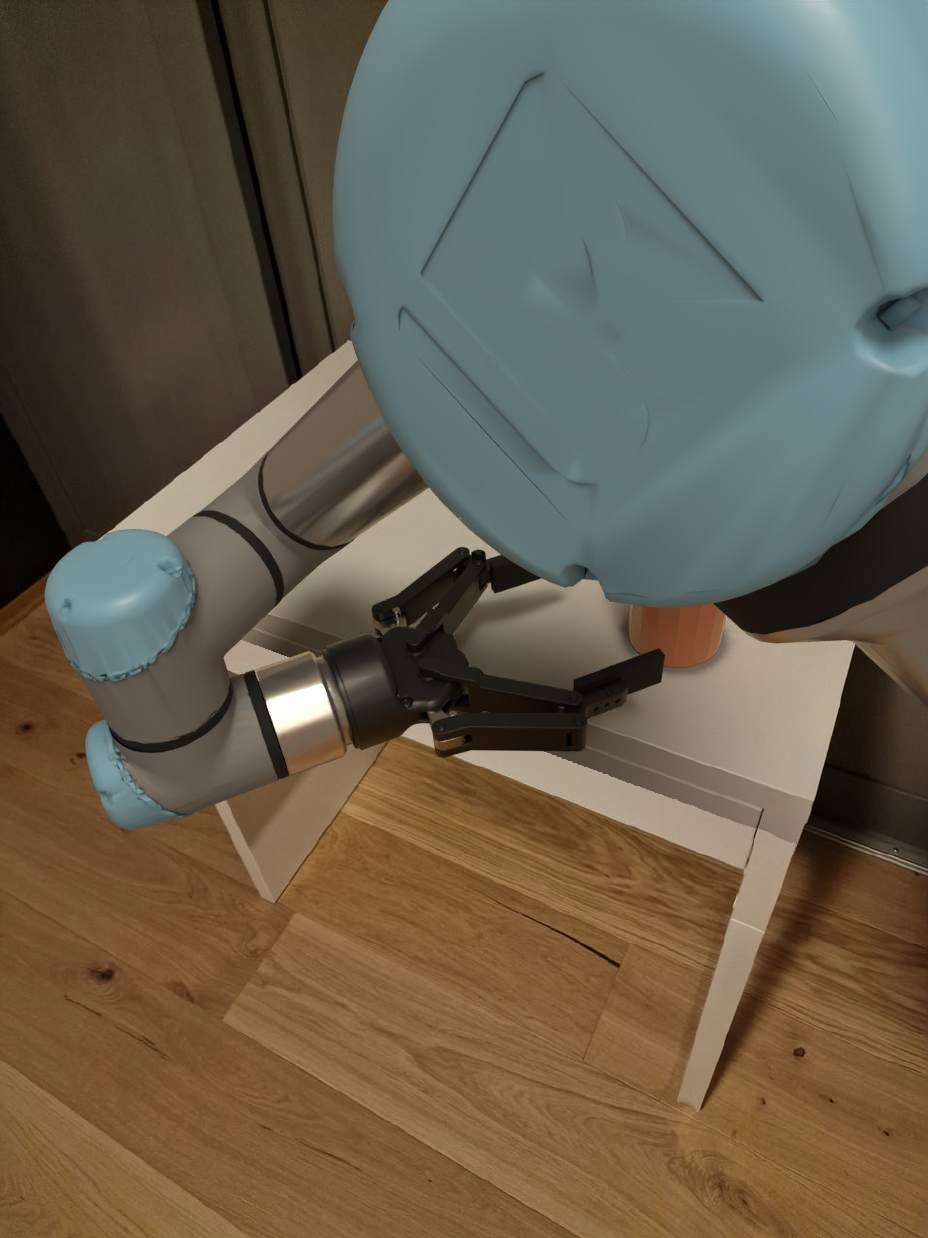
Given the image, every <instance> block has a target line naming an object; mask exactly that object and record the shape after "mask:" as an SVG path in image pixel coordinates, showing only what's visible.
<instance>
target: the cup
mask: <svg viewBox="0 0 928 1238" xmlns="http://www.w3.org/2000/svg"><path fill="white" fill-rule="evenodd" d="M726 619H727V616H726V615H725V614H724V613H723V612H722V611H721V610H720V609H719V608H717V607H716V606H715V605H714V604H713V603H710V604H704V605H698V606H691V607H674V608H655V607H642V606H636V605H629V615H628V624H627V625H628V638H629V641H630V644H631V645H632V647H633V648H634V650H635V651H637V653H638V654H639V655H641V654H644V653H647V652H649V651H652V650H655V649H658V648H660V650H661V651H662V652H663V653H664V654H665V660H664V667H669V668H681V669H682V668H690V667H694V666H698V665H701V664H703V663H705V662H707V661H709V660H710V659H711V658H712V657H713V656H714V655H715V654H716V653H717V651H718V650H719V648H720V646H721V645H720V644H721V640H722V638H723V634H724V629H725V623H726Z"/></svg>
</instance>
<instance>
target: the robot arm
mask: <svg viewBox="0 0 928 1238" xmlns="http://www.w3.org/2000/svg"><path fill="white" fill-rule="evenodd" d="M376 20H377V21H376V22H375V24H374V27H373V29H372V31H371V32H370V35H369V37H368V39H367V42H366V43H365V45H364V48H363V51H362V54H361V56H360V58H359V61H358V63H357V67H356V70H355V73H354V76H353V79H352V82H351V84H350V88H349V92H348V95H347V99H346V103H345V107H344V110H343V114H342V120H341V125H340V130H339V135H338V141H337V147H336V153H335V161H334V168H333V184H332V216H331V217H332V239H333V252H334V263H335V270H336V273H337V276H338V278H339V281H340V282H341V285H342V286H343V288H344V290H345V293H346V295H347V298H348V301H349V303H350V305H351V308H352V313H353V318H354V319H353V320H352V322H351V326H350V329H349V337H350V341H351V343H352V344H351V345H352V348H353V350H354V351H353V352H354V354H355V356H356V358H357V360H356V361H355V362H354V363H353V364H352V365H351V366H350V367H348V369H347V370H346V371H345V372H344V373H343V374H342V375H341V376H340V377H339V378H338V379H337V380H336V382H334V383H333V384H332V386H331V387H330V388H328V389H327V391H325V393H323V395H321V397H320V398H319V399H317V401H316V402H315V403H314V404H313V405H312V406H311V407H310V408H309V409H308V410H307V411H306V412H305V413H304V414H303V415H302V416H301V417H300V418H299V419H298V420H297V421H296V422H295V423H294V424H293V425H292V426H291V428H289V429H288V430H287V431H286V432H285V433H284V434H283V435H282V436H281V438H279V439H278V440H277V441H276V442H275V443H274V445H273V446H272V447H271V448H269V450H268V451H266V452H265V453H264V454H263V455H262V456H261V457H260V458H259V459H258V460H257V461H256V462H255V463H254V464H253V465H252V466H251V467H250V468H249V470H248V471H246V473H243V475H242V476H241V477H240V478H239V479H237V480H236V481H235V482H234V483H232V484H231V485H230V486H229V487H228V488H226V489H225V490H224V491H222V493H221V494H219V495H218V496H217V497H215V498H214V499H213V500H212V501H211V502H210V503H208V504H207V505H205V506H204V507H203V508H202V509H201V510H199V511H198V512H196V513H194V515H192V516H190V517H189V518H188V519H186V521H184V522H183V523H182V524H180V525H179V526H178V527H176V528H175V529H174V530H172V531H171V532H170V533H168V534H167V535H165V534H162V533H160V532H157V531H154V530H148V529H143V528H142V529H141V528H127V529H119V530H114V531H110V532H107V533H105V534H104V535H103V537H102V538H101V539H98V540H95V541H83V542H82V543H80V544H78V545H77V546H75V547H74V548H73V549H71V550H69V551H68V552H67V553H66V554H64V555H63V557H61V559H60V560H58V561H57V563H56V564H55V566H54V567H53V568H52V570H51V572H50V573H49V575H48V577H47V581H46V583H45V588H44V602H45V603H44V604H45V607H46V610H47V613H48V615H49V618H50V620H51V621H50V622H51V625H52V628H53V629H54V631H55V633H56V636H57V638H58V640H59V642H60V645H61V647H62V649H63V653H64V656H65V657H66V658H67V660H68V662H69V664H70V666H71V668H72V669H73V670H74V671H75V672H76V673H77V676H78V677H79V679H81V681H82V683H83V684H84V686H85V688H86V690H87V692H88V693H89V694H90V696H91V698H92V699H93V702H94V703H95V704H96V706H97V708H98V710H99V711H100V713H101V714H102V716H103V718H104V719H102V720H99V721H96V722H95V723H94V724H93V725H91V726H90V727H89V729H88V730H87V732H86V735H85V746H84V747H85V748H84V749H85V756H86V760H87V767H88V770H89V773H90V778H91V780H92V784H93V786H94V788H95V791H96V792H97V793H98V796H99V798H100V801H101V805H102V807H103V809H104V811H105V812H106V814H107V816H108V817H109V819H110V820H111V821H112V822H113V823H114V824H115V825H116V826H117V827H119V828H121V829H124V830H127V831H139V830H142V829H144V828H148V827H151V826H154V825H158V824H161V823H165V822H168V821H172V820H175V819H181V818H183V819H185V818H188V817H190V816H192V815H194V814H195V813H196V812H198V811H201V810H204V809H206V808H209V807H212V806H214V805H217V804H221V803H222V802H226V801H228V800H231V799H234V798H236V797H238V796H241V795H244V794H247V793H249V792H252V791H253V790H254V791H255V790H258V789H259V788H262V787H265V786H268V785H270V784H273V783H275V782H278V781H280V780H282V779H286V778H289V777H290V776H294V775H298V774H301V773H303V772H306V771H309V770H312V769H314V768H317V767H319V766H322V765H325V764H328V763H330V762H333V761H336V760H338V759H341V758H343V757H345V756H346V754H347V752H348V749H347V748H348V746H350V745H352V746H353V747H354V749H356V750H358V749H359V750H360V751H364V750H366V749H369V748H372V747H375V746H377V745H380V744H383V743H386V742H388V741H391V740H394V739H396V738H400V737H401V736H403V735H404V734H405V732H406V731H407V730H408V729H409V728H411V727H413V726H414V725H419V724H429V727H430V730H431V734H432V740H433V746H434V747H433V748H434V753H435V755H436V756H437V757H439V758H443V759H444V758H448V757H452V756H456V755H460V754H464V753H467V752H470V751H471V752H472V751H482V752H483V751H484V752H485V751H488V752H490V751H492V752H494V751H496V752H568V753H569V752H572V753H573V752H577V753H578V752H583V751H584V750H585V749H586V748H587V740H588V723H589V722H588V721H589V720H590V719H592V718H595V717H597V716H600V715H602V714H605V713H608V712H610V711H612V710H615V709H619V708H621V707H623V706H624V705H625V703H627V702H628V696H629V695H633V694H635V693H636V692H637V693H638V692H639V691H642V690H645V689H647V688H650V687H653V686H656V685H658V684H661V683H662V681H663V675H664V674H663V673H664V667H665V666H664V660H665V654H664V653H663V652H662V651H661V650H660V648H658V649H655V650H652V651H649V652H647V653H644V654H639V655H636V656H633V657H630V658H627V659H625V660H623V661H620V662H617V663H614V664H612V665H609V666H606V667H603V668H600V669H598V670H595V671H592V672H589V673H587V674H585V675H581V676H579V677H577V678H573V680H572V683H573V684H572V689H566V688H562V687H556V686H550V685H545V684H539V683H535V682H529V681H524V680H518V679H514V678H513V679H512V678H507V677H502V676H497V675H491V674H487V673H485V672H484V671H483V670H482V669H481V668H479V667H476V666H471V665H470V662H469V660H468V658H467V656H466V655H465V653H463V652H462V651H461V650H460V649H459V648H458V645H457V639H456V638H455V636H454V634H455V633H456V632H457V630H458V629H459V627H461V625H462V623H463V622H464V620H465V619H466V618H467V616H468V614H470V612H471V611H472V610H473V608H474V606H475V605H476V603H478V601H479V599H480V598H481V596H483V594H484V593H485V591H486V590H487V588H488V587H489V584H490V590H491V591H492V592H493V593H494V595H495V594H499V593H502V592H505V591H508V590H511V589H514V588H517V587H519V586H523V585H526V584H529V583H533V582H535V581H539V580H541V579H542V580H544V581H546V582H548V583H550V584H553V585H557V586H559V587H561V588H565V589H566V588H569V587H574V586H576V585H577V584H579V583H580V582H581V581H582V580H588V581H597V582H598V584H599V586H600V588H601V590H602V592H603V594H604V597H605V599H606V600H607V601H609V602H610V603H613V604H614V603H615V604H623V605H628V606H630V605H636V606H642V607H655V608H674V607H691V606H698V605H704V604H710V603H713V604H714V605H715V606H716V607H717V608H719V609H720V610H721V611H722V612H723V613H724V614H725V615H726V618H728V619H729V620H730V621H731V622H733V623H734V624H735V625H736V626H737V627H738V628H739V629H740V630H741V631H742V632H743V633H745V634H746V635H747V636H749V637H750V638H752V639H754V640H757V641H759V642H760V643H769V644H795V643H817V642H818V643H819V642H838V641H839V642H840V641H848V642H852V643H853V644H854V645H856V647H857V648H858V649H860V650H861V651H862V652H863V653H864V654H865V655H866V656H867V657H868V658H869V659H870V660H871V661H873V662H874V664H875V665H877V666H878V667H879V668H880V669H881V670H883V672H885V673H886V675H887V676H888V677H890V678H891V679H892V680H893V681H894V682H895V683H896V684H897V685H898V686H900V687H901V688H902V690H904V691H905V692H906V693H907V694H908V695H909V697H910V696H911V698H912V699H914V701H916V702H917V703H918V704H919V705H920V706H921V707H922V708H923V709H924V710H925V711H926V712H928V0H388V1H387V2H386V4H385V6H384V7H383V9H382V10H381V12H380V14H379V16H378V19H376ZM428 489H429V490H430V491H431V493H433V494H434V495H435V496H436V498H437V499H438V500H439V501H440V502H441V503H442V504H443V506H444V507H446V508H447V510H448V511H450V513H451V514H453V515H454V517H456V519H457V520H459V522H460V523H461V524H463V526H464V527H466V528H467V529H468V530H469V531H470V532H472V533H473V534H474V535H475V536H476V537H478V538H479V539H480V540H481V541H483V542H484V544H486V545H487V546H489V547H490V548H491V549H493V550H495V552H497V553H498V554H499V555H496V556H492V557H489V558H487V553H486V551H485V550H483V549H474V550H472V551H470V549H469V548H468V547H466V546H459V547H456V548H455V549H454V550H453V551H451V552H450V553H449V554H448V555H446V556H445V557H443V558H442V559H441V560H440V561H439V562H437V563H436V564H435V565H434V566H432V567H431V568H430V569H428V570H427V571H425V572H424V573H423V574H422V575H420V576H419V577H417V578H416V579H415V580H414V581H412V582H411V583H410V584H409V585H407V586H406V587H405V588H404V589H402V590H401V591H400V592H399V593H397V594H396V595H394V596H391V597H389V598H386V599H384V600H381V601H379V602H377V603H374V604H373V605H372V606H371V608H370V611H371V616H372V623H373V626H374V631H375V634H376V636H377V637H376V636H375V635H374V634H372V633H370V632H363V633H361V634H357V635H354V636H352V637H348V638H345V639H342V640H338V641H337V642H336V641H335V642H333V643H331V644H327V645H325V649H322V651H321V654H322V655H319V656H316V654H315V653H314V652H312V651H310V650H307V651H305V652H302V653H299V654H295V655H293V656H289V657H287V658H285V659H281V660H279V661H275V662H272V663H270V664H266V665H263V666H260V667H258V668H256V669H251V670H249V671H245V672H244V673H240V674H236V675H233V676H230V674H229V670H228V667H227V664H226V660H225V656H226V654H228V653H229V652H230V651H231V649H233V648H235V646H236V645H237V644H238V643H239V642H241V640H243V638H245V636H246V635H247V634H249V633H250V632H251V631H252V630H253V629H254V628H255V627H256V626H257V625H258V624H259V623H260V622H261V621H262V620H263V619H264V618H265V617H266V616H267V615H268V614H269V613H270V612H271V611H273V610H274V609H275V608H276V607H278V605H279V604H280V603H281V602H282V600H283V599H284V598H286V597H287V596H288V594H290V593H291V592H292V591H293V590H294V589H295V588H296V587H298V585H300V583H302V582H303V581H304V580H305V579H306V578H307V577H308V576H310V574H312V573H313V572H314V571H315V570H316V569H317V568H318V567H319V566H321V565H322V564H323V563H324V562H326V561H327V560H328V559H330V558H331V557H333V556H334V555H335V554H337V553H338V552H340V551H342V550H343V549H344V548H346V547H347V546H348V545H350V544H351V543H352V542H354V541H355V540H356V539H357V538H358V537H359V536H360V535H362V534H363V533H365V532H366V531H369V530H370V529H371V528H372V527H374V526H376V525H377V524H378V523H380V522H382V521H383V520H384V519H386V518H387V517H388V516H390V515H392V514H393V513H394V512H396V511H398V510H399V509H400V508H402V507H403V506H405V505H406V504H408V503H410V502H411V501H412V500H413V499H415V498H416V497H418V496H420V495H421V494H423V493H424V492H425V491H427V490H428ZM434 607H435V608H434ZM421 618H422V619H421ZM420 619H421V620H420ZM419 620H420V621H419ZM417 621H419V623H418V624H417V625H416V626H415V627H410V626H412V625H414V624H415V623H416V622H417ZM466 691H468V693H466ZM458 712H463V713H460V714H459V713H458Z"/></svg>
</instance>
